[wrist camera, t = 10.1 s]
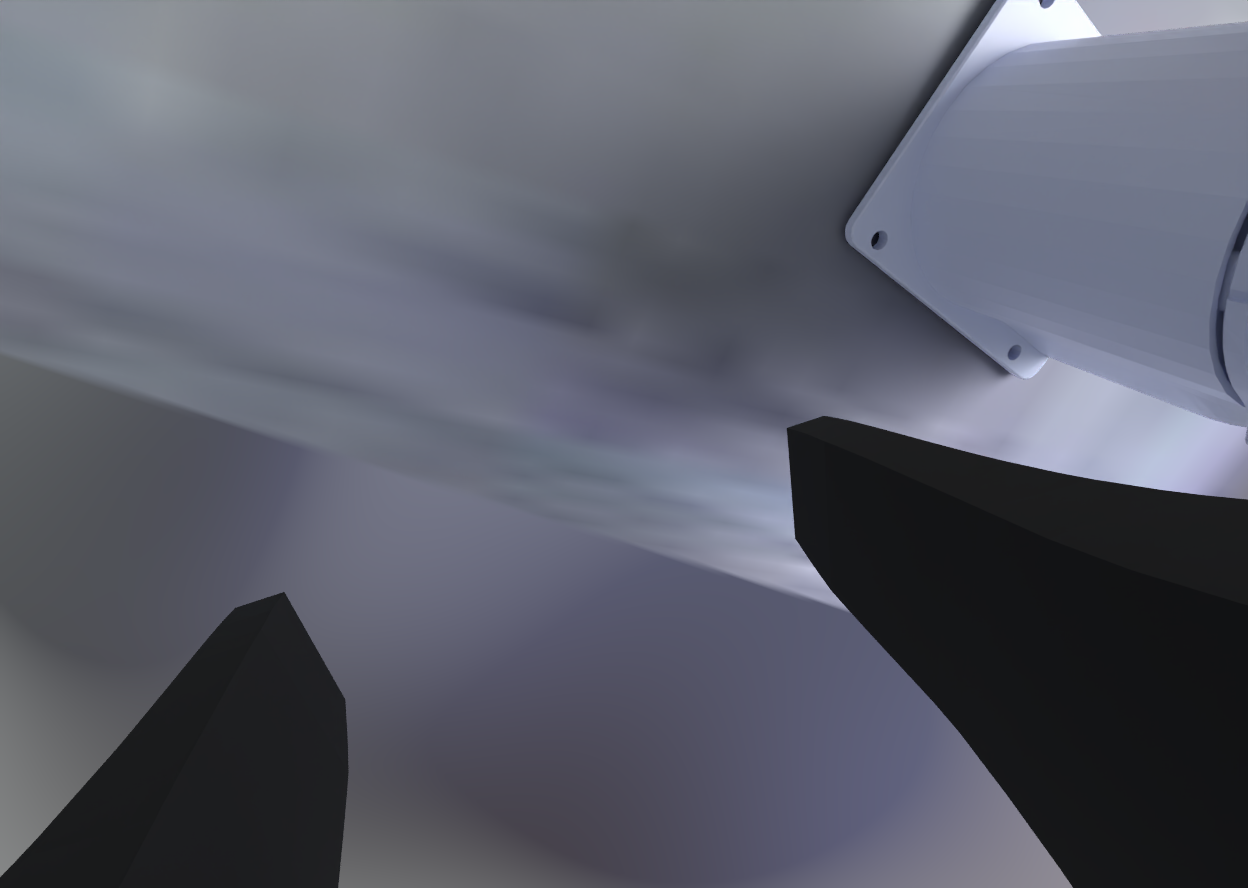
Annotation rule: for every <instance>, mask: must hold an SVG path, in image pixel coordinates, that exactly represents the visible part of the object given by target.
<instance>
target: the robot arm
mask: <svg viewBox="0 0 1248 888" xmlns="http://www.w3.org/2000/svg"><path fill="white" fill-rule="evenodd" d="M876 232H879V239H878V242H877V243H876V244H875V245H874V246H873V247H872V246H871V240H872V237H873V235H874V234H875V233H876ZM845 237H846V240H847V242H848V243H849V244H850V245H851V246H852V247H853V248H855V249H856V250H857V251H858V252H860V253H861V254H862V255H863V256H865V257H866V258H867V259H868V260H870V261H871V262H872V263H873V264H875V265H876V266H877V267H878V268H880V269H881V270H882V271H883V272H885V273H886V274H887V275H888V276H890V277H891V278H892V279H893V280H895V281H896V282H897V283H898V284H900V285H901V286H902V287H903V288H905V289H906V290H907V291H908V292H910V293H911V294H912V295H913V296H915V297H916V298H917V299H918V300H920V301H921V302H922V303H923V304H925V305H926V306H927V307H928V308H930V309H931V310H932V311H933V312H935V313H936V314H937V315H938V316H940V317H941V318H942V319H943V320H945V321H946V322H947V323H948V324H950V325H951V326H952V327H953V328H955V329H956V330H957V331H958V332H960V333H961V334H962V335H963V336H965V337H966V338H967V339H968V340H970V341H971V342H972V343H973V344H975V345H976V346H977V347H978V348H980V349H981V350H982V351H983V352H985V353H986V354H987V355H988V356H990V357H991V358H992V359H993V360H995V361H996V362H997V363H998V364H1000V365H1001V366H1002V367H1003V368H1005V369H1006V370H1007V371H1008V372H1010V373H1011V374H1012V375H1014V376H1016V377H1019V378H1021V379H1029V378H1031V377H1032V376H1034V375H1035V374H1036V373H1037V372H1038V371H1039V370H1040V368H1041V367H1042V366H1043V365H1044V363H1045V362H1046V361H1047V360H1048V358H1049V357H1050V358H1052V359H1055V360H1058V361H1060V362H1063V363H1065V364H1068V365H1071V366H1073V367H1076V368H1078V369H1081V370H1084V371H1086V372H1089V373H1092V374H1094V375H1097V376H1099V377H1102V378H1105V379H1107V380H1110V381H1112V382H1115V383H1118V384H1120V385H1123V386H1125V387H1128V388H1131V389H1133V390H1136V391H1138V392H1141V393H1144V394H1146V395H1149V396H1151V397H1154V398H1157V399H1159V400H1162V401H1164V402H1167V403H1170V404H1172V405H1175V406H1177V407H1180V408H1183V409H1185V410H1188V411H1190V412H1193V413H1196V414H1198V415H1201V416H1203V417H1206V418H1209V419H1212V420H1216V421H1219V422H1223V423H1227V424H1230V425H1235V426H1241V427H1247V432H1246V437H1245V441H1246V444H1248V22H1238V23H1228V24H1218V25H1208V26H1198V27H1188V28H1178V29H1168V30H1158V31H1148V32H1138V33H1128V34H1118V35H1108V36H1102V35H1101V34H1100V33H1099V31H1098V30H1097V29H1096V27H1095V26H1094V24H1093V23H1092V22H1091V20H1090V19H1089V18H1088V16H1087V15H1086V13H1085V12H1084V11H1083V9H1082V8H1081V7H1080V5H1079V4H1078V2H1077V1H1076V0H1043V1H1042V3H1041V6H1040V3H1039V0H996V2H995V3H994V4H993V6H992V7H991V9H990V10H989V12H988V13H987V15H986V16H985V18H984V19H983V21H982V22H981V24H980V25H979V27H978V28H977V30H976V31H975V33H974V34H973V36H972V37H971V39H970V40H969V42H968V43H967V45H966V46H965V48H964V49H963V51H962V52H961V54H960V55H959V57H958V58H957V60H956V61H955V62H954V64H953V65H952V67H951V68H950V70H949V71H948V73H947V74H946V76H945V77H944V79H943V80H942V82H941V83H940V85H939V86H938V88H937V89H936V91H935V92H934V94H933V95H932V97H931V98H930V100H929V101H928V103H927V104H926V106H925V107H924V109H923V110H922V112H921V113H920V115H919V116H918V118H917V119H916V121H915V122H914V123H913V125H912V126H911V128H910V129H909V131H908V132H907V134H906V135H905V137H904V138H903V140H902V141H901V143H900V144H899V146H898V147H897V149H896V150H895V152H894V153H893V155H892V156H891V158H890V159H889V161H888V162H887V164H886V165H885V167H884V168H883V170H882V171H881V173H880V174H879V176H878V177H877V179H876V180H875V182H874V183H873V184H872V186H871V187H870V189H869V190H868V192H867V193H866V195H865V196H864V198H863V199H862V201H861V202H860V204H859V205H858V207H857V208H856V210H855V211H854V213H853V214H852V216H851V217H850V219H849V221H848V223H847V225H846V228H845ZM1010 348H1012V349H1011V351H1010V352H1009V350H1010ZM1008 352H1009V353H1008ZM787 435H788V448H789V462H790V475H791V488H792V501H793V514H794V528H795V539H796V540H797V542H798V543H799V545H800V546H801V548H802V549H803V551H804V552H805V554H806V555H807V557H808V558H809V560H810V561H811V563H812V564H813V566H814V567H815V568H816V570H817V571H818V573H819V574H820V575H821V577H822V578H823V580H824V581H825V582H826V584H827V585H828V587H829V588H830V589H831V591H832V592H833V593H834V594H835V595H836V596H837V597H838V599H839V600H840V601H841V602H842V603H843V604H844V605H845V606H846V608H847V609H848V610H849V611H850V612H851V613H852V614H853V615H854V616H855V617H856V619H857V620H858V621H859V622H860V623H861V624H862V625H863V626H864V627H865V629H866V630H867V631H868V632H869V633H870V634H871V635H872V636H873V637H874V638H875V639H876V640H877V642H878V643H879V644H880V645H881V646H882V647H883V648H884V649H885V650H886V651H887V652H888V653H889V654H890V656H891V657H892V658H893V659H894V660H895V661H896V662H897V663H898V664H899V665H900V666H901V667H902V669H903V670H904V671H905V672H906V673H907V674H908V675H909V676H910V677H911V678H912V679H913V680H914V682H915V683H916V684H917V685H918V686H919V687H920V688H921V689H922V690H923V691H924V692H925V693H926V694H927V696H928V697H929V698H930V699H931V700H932V701H933V702H934V703H935V704H936V705H937V707H938V708H939V709H940V710H941V711H942V712H943V714H944V715H945V716H946V717H947V718H948V719H949V721H950V722H951V723H952V724H953V725H954V727H955V728H956V729H957V730H958V731H959V732H960V734H961V735H962V736H963V738H964V739H965V740H966V742H967V743H968V744H969V745H970V747H971V748H972V749H973V751H974V752H975V753H976V755H977V756H978V757H979V759H980V760H981V761H982V763H983V764H984V765H985V767H986V768H987V769H988V771H989V772H990V773H991V774H992V776H993V777H994V778H995V780H996V781H997V782H998V784H999V785H1000V786H1001V788H1002V789H1003V790H1004V792H1005V793H1006V794H1007V796H1008V797H1009V798H1010V800H1011V801H1012V802H1013V804H1014V805H1015V807H1016V808H1017V809H1018V811H1019V812H1020V814H1021V815H1022V816H1023V818H1024V819H1025V820H1026V822H1027V823H1028V825H1029V826H1030V828H1031V829H1032V830H1033V831H1034V833H1035V834H1036V836H1037V837H1038V839H1039V840H1040V841H1041V843H1042V844H1043V846H1044V847H1045V848H1046V850H1047V851H1048V853H1049V854H1050V855H1051V857H1052V858H1053V859H1054V861H1055V862H1056V864H1057V865H1058V866H1059V868H1060V869H1061V871H1062V872H1063V874H1064V875H1065V876H1066V878H1067V879H1068V881H1069V882H1070V884H1071V885H1072V887H1073V888H1248V500H1246V499H1236V498H1226V497H1215V496H1205V495H1197V494H1189V493H1181V492H1173V491H1165V490H1157V489H1151V488H1145V487H1138V486H1132V485H1126V484H1119V483H1113V482H1106V481H1100V480H1094V479H1088V478H1083V477H1077V476H1072V475H1067V474H1062V473H1057V472H1052V471H1047V470H1043V469H1038V468H1034V467H1029V466H1024V465H1020V464H1015V463H1011V462H1006V461H1002V460H998V459H994V458H990V457H985V456H981V455H977V454H973V453H969V452H965V451H961V450H958V449H954V448H950V447H946V446H942V445H939V444H935V443H931V442H927V441H924V440H920V439H916V438H913V437H909V436H905V435H902V434H898V433H894V432H891V431H887V430H883V429H880V428H876V427H872V426H868V425H864V424H860V423H856V422H852V421H848V420H843V419H839V418H833V417H828V416H822V417H819V418H816V419H813V420H810V421H807V422H804V423H801V424H798V425H795V426H792V427H789V428H787ZM347 742H348V741H347V723H346V705H345V698H344V697H343V695H342V693H341V691H340V690H339V688H338V686H337V684H336V682H335V681H334V679H333V677H332V676H331V674H330V672H329V670H328V668H327V667H326V665H325V663H324V661H323V660H322V658H321V656H320V654H319V652H318V651H317V649H316V647H315V645H314V644H313V642H312V640H311V638H310V637H309V635H308V633H307V631H306V630H305V628H304V626H303V624H302V622H301V621H300V619H299V617H298V616H297V614H296V612H295V610H294V608H293V607H292V605H291V603H290V601H289V600H288V598H287V596H286V594H285V593H284V592H283V593H280V594H277V595H274V596H271V597H267V598H264V599H261V600H258V601H255V602H252V603H249V604H246V605H243V606H240V607H237V608H235V609H234V610H233V611H232V612H231V613H230V614H229V615H228V616H227V617H226V619H224V621H223V622H222V623H221V624H220V625H219V626H218V627H217V628H216V630H215V631H214V632H213V633H212V634H211V636H210V637H209V638H208V639H207V640H206V642H205V643H204V644H203V645H202V646H201V647H200V649H199V650H198V651H197V652H196V654H195V655H194V656H193V657H192V658H191V660H190V661H189V662H188V663H187V664H186V666H185V667H184V668H183V669H182V671H181V672H180V673H179V674H178V676H177V677H176V678H175V679H174V680H173V682H172V683H171V684H170V685H169V687H168V688H167V689H166V690H165V691H164V693H163V694H162V695H161V696H160V697H159V699H158V700H157V701H156V702H155V703H154V705H153V706H152V707H151V708H150V710H149V711H148V712H147V713H146V714H145V716H144V717H143V718H142V719H141V720H140V722H139V723H138V724H137V725H136V726H135V728H134V729H133V730H132V731H131V732H130V734H129V735H128V736H127V737H126V739H125V740H124V741H123V742H122V743H121V744H120V746H119V747H118V748H117V749H116V751H114V752H113V754H112V755H111V756H110V757H109V758H108V759H107V760H106V762H105V763H104V764H103V765H102V766H101V767H100V768H99V769H98V771H97V772H96V773H95V774H94V775H93V776H92V777H91V778H90V780H89V781H88V782H87V783H86V784H85V785H84V786H83V788H82V789H81V790H80V791H79V792H78V793H77V794H76V795H75V797H74V798H73V799H72V800H71V801H70V802H69V803H68V804H67V806H66V807H65V808H64V809H63V810H62V811H61V812H60V813H59V815H58V816H57V817H56V818H55V819H54V820H53V821H52V822H51V824H50V825H49V826H48V827H47V828H46V829H45V830H44V831H43V833H42V834H41V835H40V836H39V837H38V838H37V839H36V840H35V841H34V842H33V844H32V845H31V846H30V847H29V848H28V849H27V850H26V851H25V852H24V853H23V854H22V855H21V856H20V857H19V859H17V861H16V862H15V863H14V864H13V865H12V866H11V867H10V868H9V869H8V870H7V871H6V872H5V873H4V874H3V875H2V876H1V877H0V888H338V882H339V872H340V862H341V852H342V841H343V830H344V819H345V808H346V797H347V784H348V743H347Z"/></svg>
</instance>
